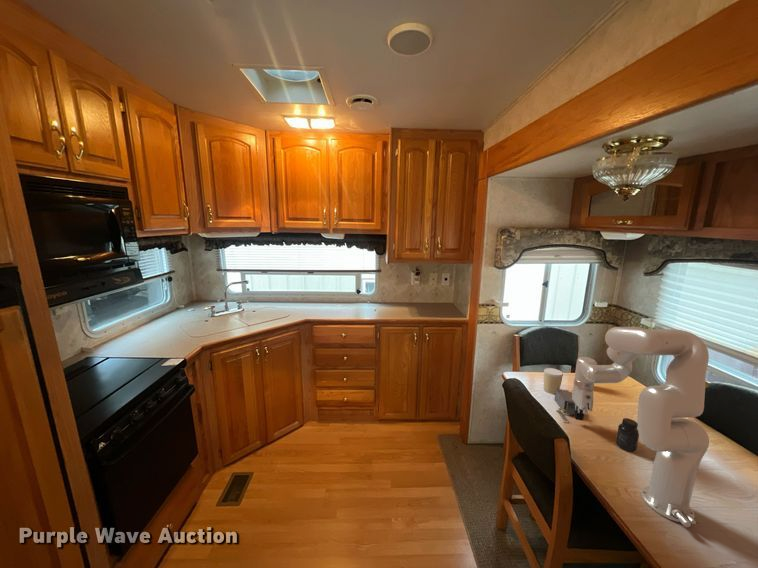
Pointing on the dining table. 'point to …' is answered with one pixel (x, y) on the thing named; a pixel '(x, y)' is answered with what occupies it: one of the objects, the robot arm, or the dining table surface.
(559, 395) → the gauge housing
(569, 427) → the dining table surface
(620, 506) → the dining table surface
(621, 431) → the supplement bottle
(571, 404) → the plunger
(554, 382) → the coffee cup
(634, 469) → the dining table surface
